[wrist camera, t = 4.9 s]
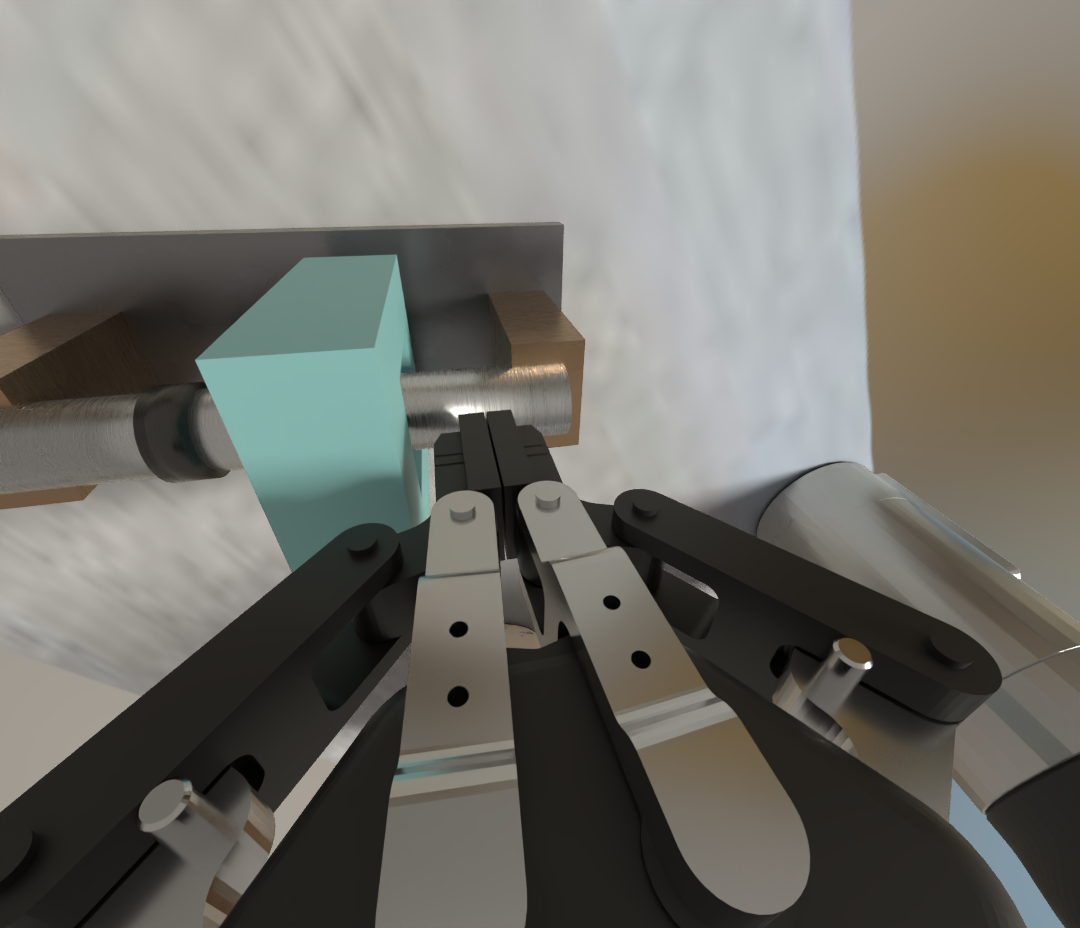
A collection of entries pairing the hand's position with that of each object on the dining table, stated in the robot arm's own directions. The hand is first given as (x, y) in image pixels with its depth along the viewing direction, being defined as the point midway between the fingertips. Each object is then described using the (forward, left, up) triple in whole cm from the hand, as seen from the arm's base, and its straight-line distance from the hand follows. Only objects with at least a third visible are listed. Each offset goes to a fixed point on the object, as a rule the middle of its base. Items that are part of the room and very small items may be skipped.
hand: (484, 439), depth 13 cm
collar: (+4, 0, -6) cm, 7 cm away
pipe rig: (+6, 0, -9) cm, 11 cm away
